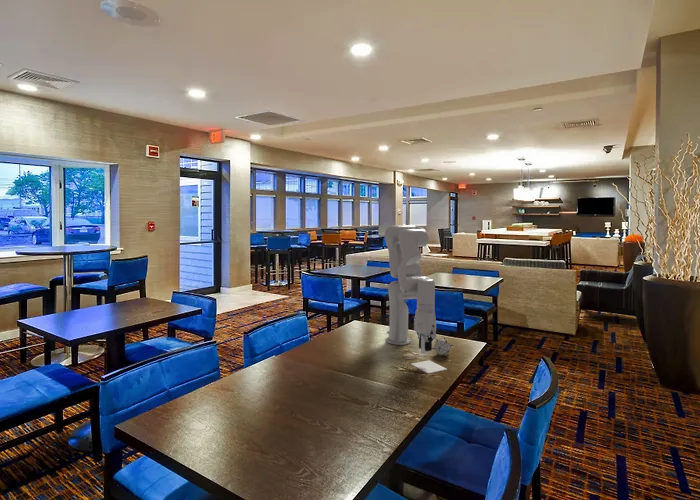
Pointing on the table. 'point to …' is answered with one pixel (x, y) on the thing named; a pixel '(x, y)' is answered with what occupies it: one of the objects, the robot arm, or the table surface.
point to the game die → (442, 347)
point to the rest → (409, 356)
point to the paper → (428, 366)
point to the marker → (423, 344)
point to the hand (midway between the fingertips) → (425, 348)
